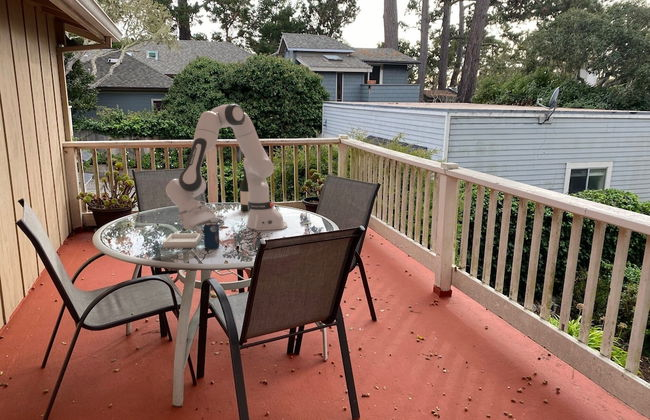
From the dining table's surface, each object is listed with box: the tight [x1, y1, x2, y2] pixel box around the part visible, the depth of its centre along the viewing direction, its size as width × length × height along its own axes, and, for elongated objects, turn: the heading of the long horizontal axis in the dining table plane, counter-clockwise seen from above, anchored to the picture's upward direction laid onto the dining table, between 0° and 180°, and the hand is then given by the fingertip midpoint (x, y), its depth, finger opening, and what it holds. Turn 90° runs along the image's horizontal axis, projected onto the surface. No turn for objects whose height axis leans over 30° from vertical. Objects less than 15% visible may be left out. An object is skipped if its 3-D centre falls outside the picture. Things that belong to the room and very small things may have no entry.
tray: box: [162, 232, 203, 249], centre depth 240 cm, size 15×15×3 cm
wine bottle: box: [239, 168, 249, 212], centre depth 310 cm, size 8×8×30 cm
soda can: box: [203, 221, 220, 251], centre depth 232 cm, size 7×7×12 cm
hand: (208, 231), depth 232 cm, fingers open, 8 cm apart
